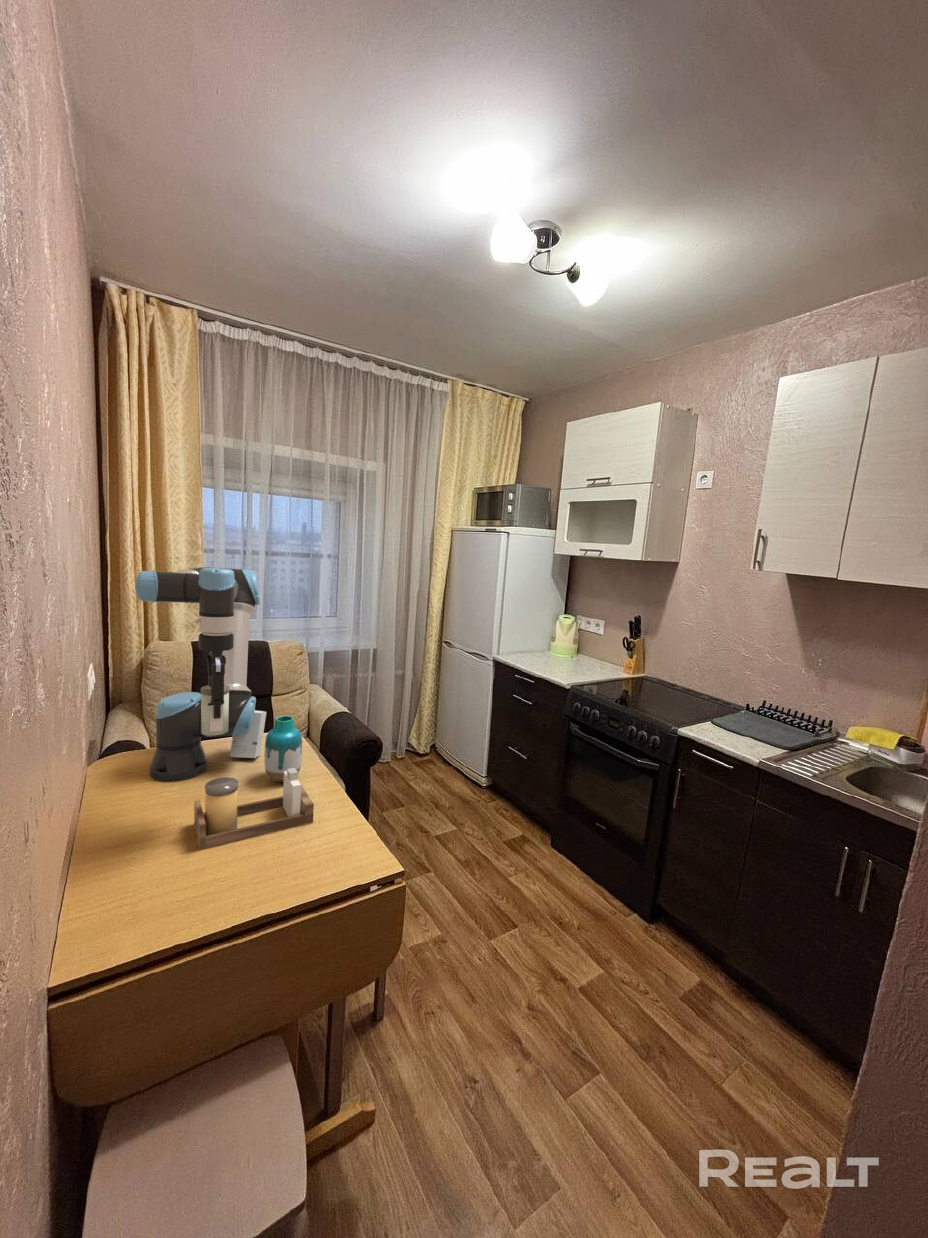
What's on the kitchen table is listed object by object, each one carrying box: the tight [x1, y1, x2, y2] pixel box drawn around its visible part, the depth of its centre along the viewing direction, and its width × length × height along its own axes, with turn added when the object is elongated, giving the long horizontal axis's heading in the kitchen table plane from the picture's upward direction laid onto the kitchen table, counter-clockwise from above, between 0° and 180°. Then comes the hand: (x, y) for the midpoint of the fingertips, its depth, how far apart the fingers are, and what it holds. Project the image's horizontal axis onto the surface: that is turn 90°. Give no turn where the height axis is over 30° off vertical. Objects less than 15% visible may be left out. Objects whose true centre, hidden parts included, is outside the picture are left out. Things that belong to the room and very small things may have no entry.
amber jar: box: [204, 776, 239, 836], centre depth 119 cm, size 7×7×12 cm
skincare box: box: [229, 709, 267, 759], centre depth 161 cm, size 8×6×15 cm
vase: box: [264, 714, 303, 783], centre depth 147 cm, size 11×11×19 cm
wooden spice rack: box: [193, 784, 315, 850], centre depth 124 cm, size 12×26×6 cm, turn 124°
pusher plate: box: [282, 768, 302, 817], centre depth 129 cm, size 9×2×12 cm, turn 34°
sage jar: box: [200, 684, 229, 737], centre depth 120 cm, size 6×6×11 cm
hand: (215, 725), depth 120 cm, fingers closed on sage jar, 6 cm apart
